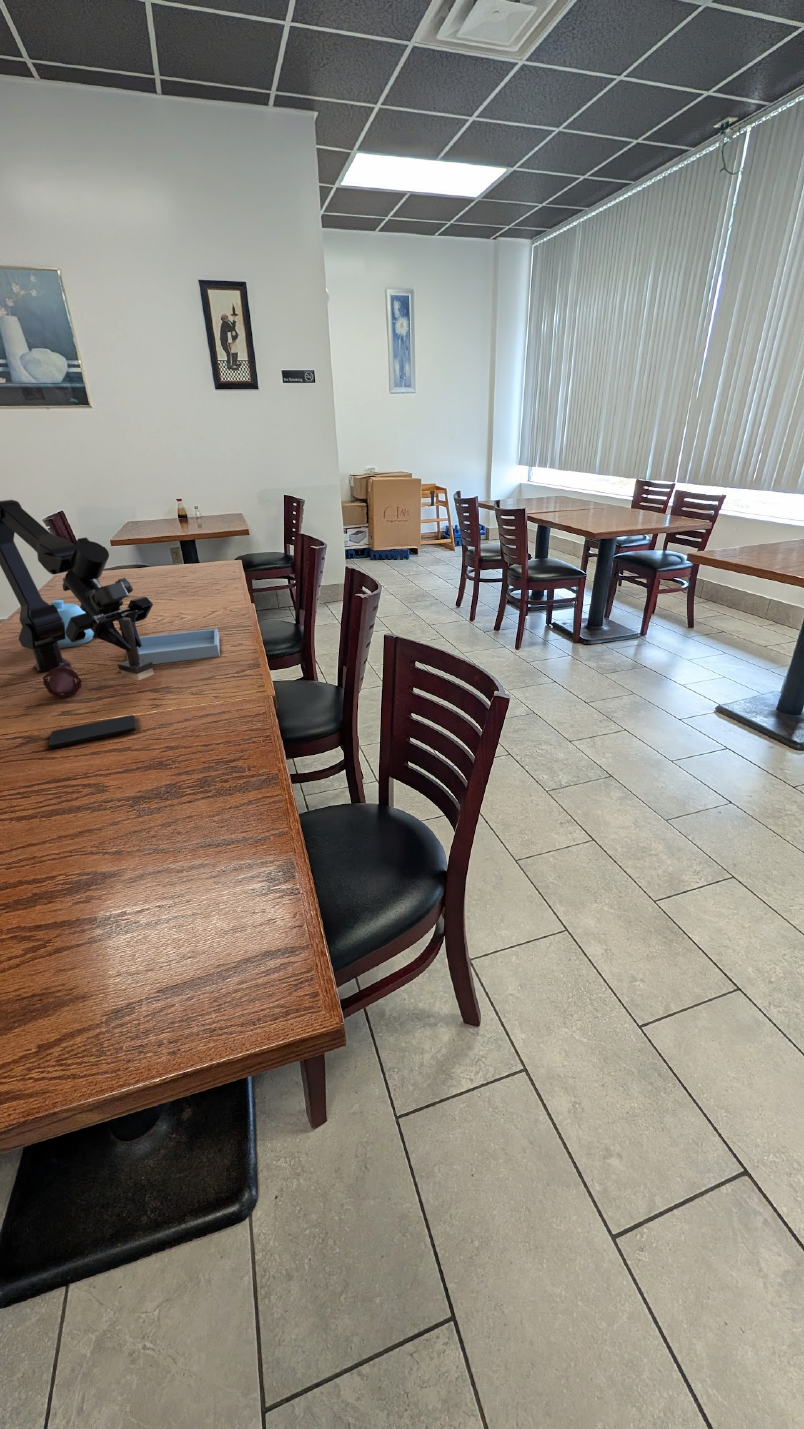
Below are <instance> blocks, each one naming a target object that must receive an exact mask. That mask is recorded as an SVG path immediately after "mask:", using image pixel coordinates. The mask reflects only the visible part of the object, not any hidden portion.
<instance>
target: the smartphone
mask: <svg viewBox="0 0 804 1429" xmlns="http://www.w3.org/2000/svg"><path fill="white" fill-rule="evenodd" d="M136 722H137V721H136V716H135V715H133V714H129V715H126V716H125V715H124V716H120V717H116V718H110V719H106V720H101V721H96V722H90V723H85V724H81V725H75V726H70V727H66V728H61V729H56V730H52V731H51V732H50V735H49V741H48V748H49V749H56V748H62V747H67V746H71V745H76V744H81V743H85V742H90V741H96V740H99V739H104V738H110V737H114V736H119V735H124V734H129V733H132V732H135V731H137V723H136Z"/></svg>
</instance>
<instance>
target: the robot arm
mask: <svg viewBox="0 0 804 1429" xmlns="http://www.w3.org/2000/svg"><path fill="white" fill-rule="evenodd" d="M15 534H16V535H17V536H19V538H20V539H22V540H23V542H25V543H26V544H27V545H28V546H30V547H31V548H32V549H33V550H34V551H35V552H36V553H37V561H38V563H40V565H41V566H42V567H43V569H44V570H46V571H47V572H48V573H49V574H50V575H52V576H54V575H61V574H64V573H66V574H65V576H64V577H63V578H62V582H63V583H62V590H63V591H64V592H67V591H70V592H71V593H72V594H73V595H74V597H75V598H76V599H77V600H78V602H79V603H80V606H79V607H80V608H81V609H82V611H84V610H87V611H88V613H89V614H88V613H84V614H80V615H77V616H73V617H71V618H70V620H69V623H68V626H67V628H66V631H65V624H64V621H63V619H62V618H61V616H60V614H59V613H58V610H57V607H56V606H55V605H54V604H52V603H50V604H49V603H48V602H47V601H46V600H44V599H43V597H42V596H41V593H40V591H39V589H38V587H37V585H36V583H35V581H34V579H33V577H32V575H31V573H30V571H29V569H28V567H27V565H26V563H25V560H24V558H23V556H22V555H21V552H20V551H19V548H18V547H17V545H16V543H15ZM109 558H110V552H109V551H108V549H107V548H106V547H105V546H103V545H102V544H101V543H98V542H95V541H92V540H90V539H89V538H88V537H80V538H77V539H76V544H74V543H73V542H71V541H70V540H68V539H67V538H64V537H60V536H58V535H57V536H56V535H54V534H53V533H51V532H50V531H49V530H48V529H47V528H45V527H44V526H43V525H42V524H41V523H40V522H38V521H37V520H36V519H35V518H34V517H33V516H32V515H31V514H29V513H28V512H27V511H26V510H25V509H23V506H22V505H21V503H20V502H19V501H17V500H14V499H6V500H5V499H4V500H0V568H1V570H2V572H3V574H4V576H5V577H6V580H7V582H8V584H9V586H10V588H11V589H12V592H13V593H14V595H15V598H16V599H17V601H18V603H19V606H20V611H19V618H18V619H19V623H20V625H21V629H20V633H19V636H18V641H19V643H20V645H21V647H22V648H26V649H30V650H32V652H33V655H34V659H35V661H36V663H34V665H35V668H36V670H37V672H38V673H43V672H49V671H50V670H51V669H54V668H57V667H62V664H63V663H65V662H67V661H66V660H65V658H64V657H63V654H62V652H61V648H59V645H58V641H60V640H64V639H66V638H65V633H66V636H67V637H68V638H69V640H70V641H71V642H76V641H79V640H82V639H84V638H85V635H86V633H85V632H84V630H88V629H91V630H92V631H93V632H94V634H93V638H92V639H94V640H96V639H98V640H101V641H103V642H107V643H109V644H111V645H113V646H115V647H118V648H119V649H122V650H124V651H125V652H126V651H128V652H129V651H130V650H131V647H130V646H129V644H128V643H127V641H126V640H125V639H124V638H123V637H122V633H121V630H120V627H119V631H118V629H117V628H116V626H115V623H114V622H118V619H120V618H125V617H129V618H130V619H131V623H132V628H133V632H134V636H135V640H136V644H137V647H139V648H140V647H141V646H142V643H141V640H140V637H141V636H140V634H139V632H138V629H137V625H136V623H138V622H141V621H144V620H146V619H147V618H148V615H149V614H150V612H151V610H152V608H153V606H154V603H153V602H152V601H151V600H150V598H148V597H147V596H140V597H137V598H134V599H130V601H129V602H128V605H127V607H125V608H122V609H121V607H123V604H124V601H123V600H124V599H126V598H129V597H130V595H129V594H131V593H132V592H134V588H133V586H132V584H131V582H130V581H129V580H127V578H126V577H124V578H123V577H122V578H119V579H117V580H116V581H115V582H114V583H111V584H106V585H102V584H101V583H100V581H99V582H98V580H97V578H98V579H99V578H101V576H102V574H103V572H104V569H105V567H106V565H107V562H108V560H109Z"/></svg>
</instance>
